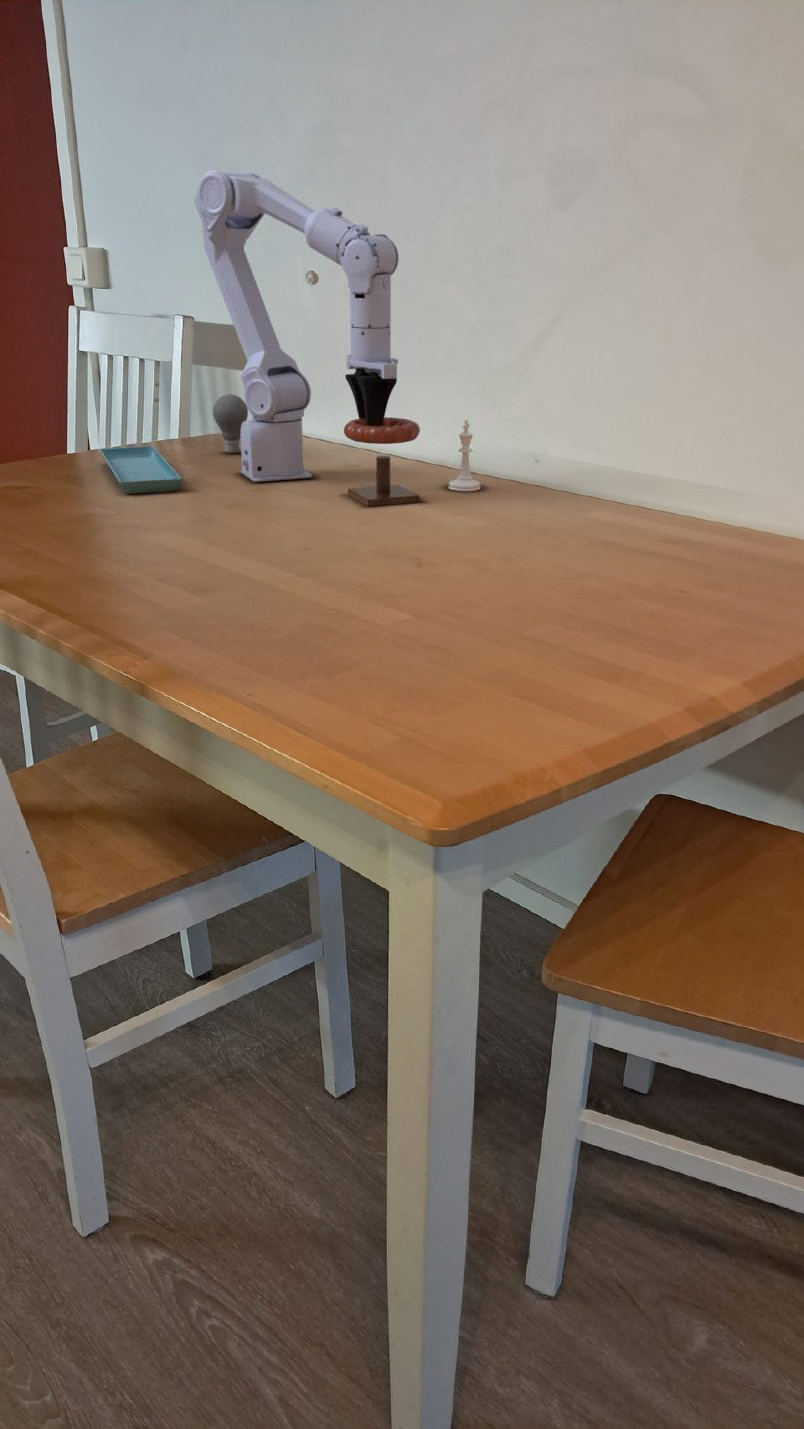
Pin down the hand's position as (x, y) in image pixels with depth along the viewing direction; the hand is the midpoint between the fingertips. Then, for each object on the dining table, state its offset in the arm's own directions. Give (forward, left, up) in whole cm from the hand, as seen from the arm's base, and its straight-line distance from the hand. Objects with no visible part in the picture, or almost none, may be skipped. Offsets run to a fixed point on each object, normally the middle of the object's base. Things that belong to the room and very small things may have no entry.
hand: (371, 424), depth 158 cm
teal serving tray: (-31, +21, -10) cm, 39 cm away
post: (-1, -7, -9) cm, 12 cm away
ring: (0, -4, 0) cm, 4 cm away
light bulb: (-12, +36, -10) cm, 39 cm away
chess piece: (+13, -5, -10) cm, 17 cm away
